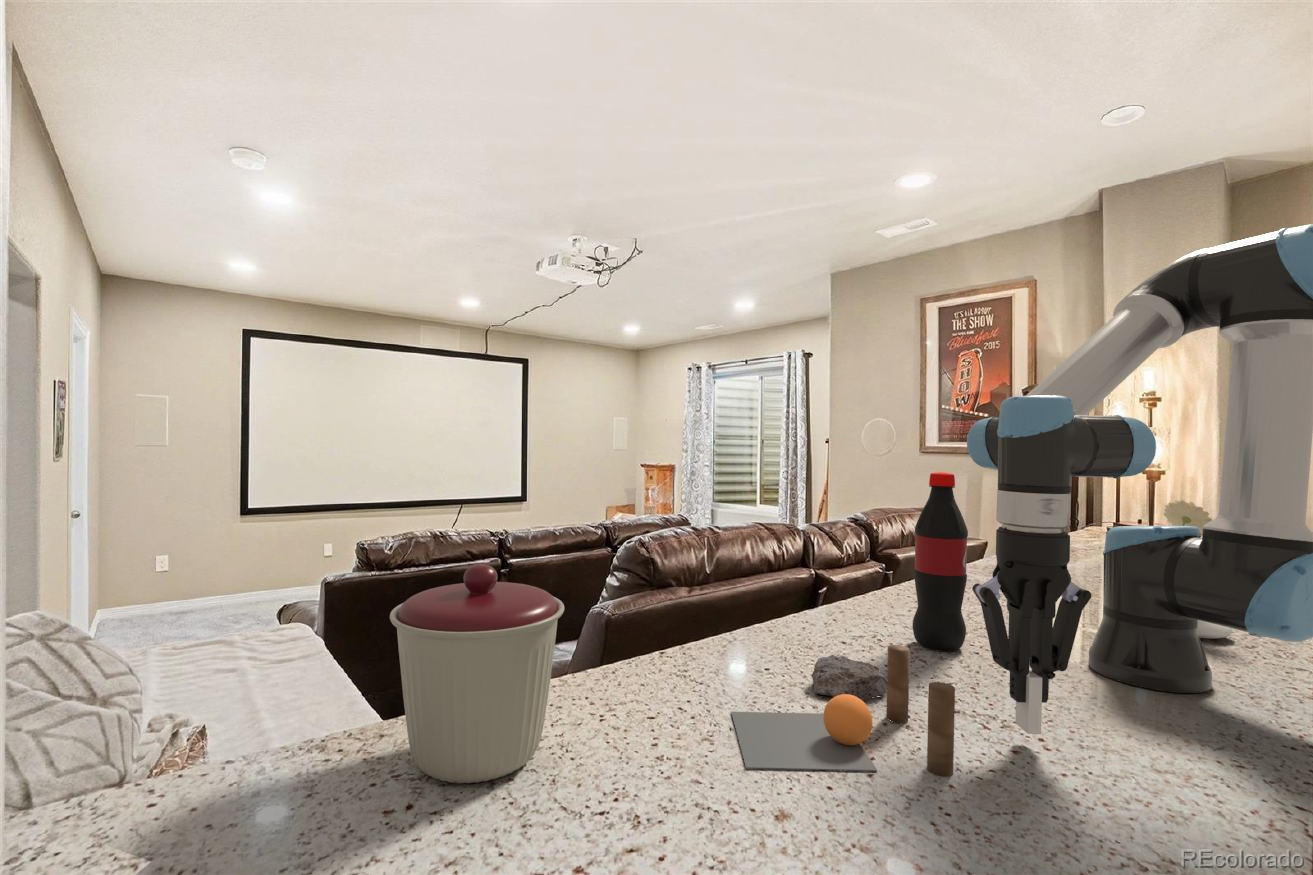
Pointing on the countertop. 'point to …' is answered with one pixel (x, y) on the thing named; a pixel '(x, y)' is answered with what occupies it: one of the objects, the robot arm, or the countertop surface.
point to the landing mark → (794, 743)
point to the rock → (847, 678)
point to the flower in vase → (1195, 516)
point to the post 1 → (898, 683)
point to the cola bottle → (940, 568)
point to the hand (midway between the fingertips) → (1028, 728)
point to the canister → (476, 674)
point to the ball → (848, 719)
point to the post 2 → (940, 728)
